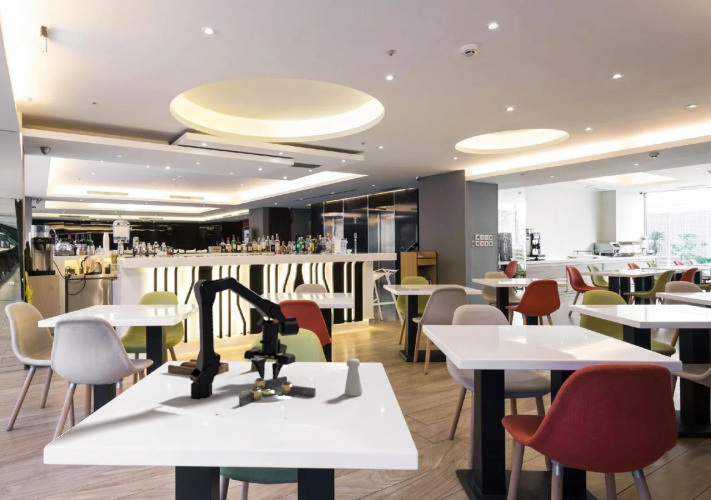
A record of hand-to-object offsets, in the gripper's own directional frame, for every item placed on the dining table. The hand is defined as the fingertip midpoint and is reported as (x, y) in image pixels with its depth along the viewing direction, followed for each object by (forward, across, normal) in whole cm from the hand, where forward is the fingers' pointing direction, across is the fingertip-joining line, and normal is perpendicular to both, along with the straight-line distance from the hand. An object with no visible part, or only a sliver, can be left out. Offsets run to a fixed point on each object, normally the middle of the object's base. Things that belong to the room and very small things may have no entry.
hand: (268, 380), depth 165 cm
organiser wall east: (+4, +41, -15) cm, 44 cm away
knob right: (+1, -17, +7) cm, 18 cm away
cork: (+4, +16, -16) cm, 23 cm away
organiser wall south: (+4, +31, -9) cm, 32 cm away
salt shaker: (+2, -34, 0) cm, 34 cm away
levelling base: (+3, -7, +13) cm, 15 cm away
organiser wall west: (+4, +41, -3) cm, 42 cm away
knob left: (+1, -3, +3) cm, 5 cm away
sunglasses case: (+5, +41, -11) cm, 43 cm away
